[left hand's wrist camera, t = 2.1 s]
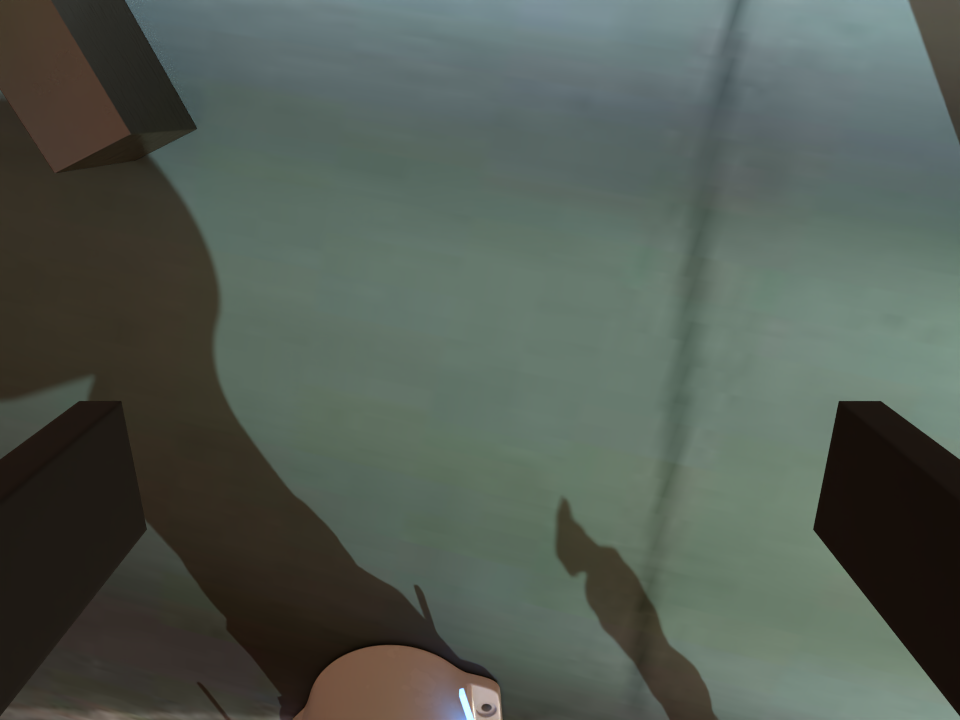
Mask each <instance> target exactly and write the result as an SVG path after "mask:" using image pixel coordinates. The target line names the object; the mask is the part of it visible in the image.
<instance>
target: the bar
mask: <svg viewBox="0 0 960 720" xmlns="http://www.w3.org/2000/svg"><path fill="white" fill-rule="evenodd" d="M0 90H1V91H2V93H3V94H4V96H5V97H6V99H7V100H8V102H9V103H10V105H11V107H12V108H13V110H14V111H15V113H16V114H17V116H18V117H19V119H20V120H21V122H22V124H23V125H24V127H25V128H26V130H27V131H28V133H29V134H30V136H31V137H32V139H33V140H34V142H35V144H36V145H37V147H38V148H39V150H40V151H41V153H42V154H43V156H44V157H45V159H46V161H47V162H48V164H49V165H50V167H51V168H52V170H53V171H54V173H60V172H66V171H72V170H79V169H85V168H91V167H98V166H104V165H111V164H117V163H123V162H130V161H135V160H137V159H139V158H141V157H143V156H145V155H147V154H149V153H151V152H153V151H155V150H157V149H159V148H161V147H163V146H165V145H166V144H168V143H170V142H172V141H174V140H176V139H178V138H180V137H182V136H184V135H186V134H188V133H190V132H192V131H194V130H196V129H197V128H196V126H195V124H194V122H193V121H192V119H191V117H190V115H189V114H188V112H187V110H186V108H185V107H184V105H183V103H182V101H181V99H180V98H179V96H178V94H177V92H176V91H175V89H174V87H173V85H172V84H171V82H170V80H169V78H168V76H167V75H166V73H165V71H164V69H163V68H162V66H161V64H160V62H159V61H158V59H157V57H156V55H155V53H154V52H153V50H152V48H151V46H150V45H149V43H148V41H147V39H146V38H145V36H144V34H143V32H142V30H141V29H140V27H139V25H138V23H137V22H136V20H135V18H134V16H133V15H132V13H131V11H130V9H129V7H128V6H127V4H126V2H125V0H0Z"/></svg>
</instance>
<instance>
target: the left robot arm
mask: <svg viewBox="0 0 960 720" xmlns="http://www.w3.org/2000/svg"><path fill="white" fill-rule="evenodd" d="M146 530H147V528H146V523H145V518H144V513H143V508H142V503H141V498H140V493H139V488H138V483H137V478H136V473H135V468H134V463H133V458H132V453H131V448H130V443H129V438H128V433H127V428H126V423H125V418H124V413H123V408H122V403H121V401H79V402H77V403H76V404H75V405H73V406H72V407H71V408H69V409H68V410H67V411H65V412H64V413H63V414H61V415H60V416H58V417H57V418H56V419H54V420H53V421H52V422H50V423H49V424H48V425H46V426H45V427H44V428H42V429H41V430H40V431H38V432H37V433H35V434H34V435H33V436H31V437H30V438H29V439H27V440H26V441H25V442H23V443H22V444H21V445H19V446H18V447H17V448H15V449H14V450H12V451H11V452H10V453H8V454H7V455H6V456H4V457H3V458H2V459H0V716H1V714H2V713H3V712H4V711H5V709H6V708H7V707H8V705H9V704H10V703H11V702H12V700H13V699H14V698H15V697H16V695H17V694H18V693H19V691H20V690H21V689H22V688H23V686H24V685H25V684H26V683H27V681H28V680H29V679H30V677H31V676H32V675H33V674H34V672H35V671H36V670H37V669H38V667H39V666H40V665H41V663H42V662H43V661H44V660H45V658H46V657H47V656H48V655H49V653H50V652H51V651H52V649H53V648H54V647H55V646H56V644H57V643H58V642H59V641H60V639H61V638H62V637H63V635H64V634H65V633H66V632H67V630H68V629H69V628H70V627H71V625H72V624H73V623H74V621H75V620H76V619H77V618H78V616H79V615H80V614H81V613H82V611H83V610H84V609H85V607H86V606H87V605H88V604H89V602H90V601H91V600H92V599H93V597H94V596H95V595H96V593H97V592H98V591H99V590H100V588H101V587H102V586H103V584H104V583H105V582H106V581H107V579H108V578H109V577H110V576H111V574H112V573H113V572H114V570H115V569H116V568H117V567H118V565H119V564H120V563H121V562H122V560H123V559H124V558H125V556H126V555H127V554H128V553H129V551H130V550H131V549H132V548H133V546H134V545H135V544H136V542H137V541H138V540H139V539H140V537H141V536H142V535H143V534H144V532H145V531H146ZM813 530H814V531H815V532H816V534H817V535H818V536H819V537H820V539H821V540H822V541H823V542H824V544H825V545H826V546H827V548H828V549H829V550H830V551H831V553H832V554H833V555H834V556H835V558H836V559H837V560H838V562H839V563H840V564H841V565H842V567H843V568H844V569H845V570H846V572H847V573H848V574H849V576H850V577H851V578H852V579H853V581H854V582H855V583H856V584H857V586H858V587H859V588H860V590H861V591H862V592H863V593H864V595H865V596H866V597H867V599H868V600H869V601H870V602H871V604H872V605H873V606H874V607H875V609H876V610H877V611H878V613H879V614H880V615H881V616H882V618H883V619H884V620H885V621H886V623H887V624H888V625H889V627H890V628H891V629H892V630H893V632H894V633H895V634H896V635H897V637H898V638H899V639H900V641H901V642H902V643H903V644H904V646H905V647H906V648H907V649H908V651H909V652H910V653H911V655H912V656H913V657H914V658H915V660H916V661H917V662H918V663H919V665H920V666H921V667H922V669H923V670H924V671H925V672H926V674H927V675H928V676H929V677H930V679H931V680H932V681H933V683H934V684H935V685H936V686H937V688H938V689H939V690H940V691H941V693H942V694H943V695H944V697H945V698H946V699H947V700H948V702H949V703H950V704H951V705H952V707H953V708H954V709H955V711H956V712H957V713H958V714H959V716H960V459H958V458H957V457H956V456H954V455H953V454H952V453H950V452H949V451H948V450H946V449H945V448H943V447H942V446H941V445H939V444H938V443H937V442H935V441H934V440H933V439H931V438H930V437H929V436H927V435H926V434H925V433H923V432H922V431H920V430H919V429H918V428H916V427H915V426H914V425H912V424H911V423H910V422H908V421H907V420H906V419H904V418H903V417H902V416H900V415H899V414H897V413H896V412H895V411H893V410H892V409H891V408H889V407H888V406H887V405H885V404H884V403H883V402H881V401H839V403H838V408H837V413H836V418H835V423H834V428H833V433H832V438H831V443H830V448H829V453H828V458H827V463H826V468H825V473H824V478H823V483H822V488H821V493H820V498H819V503H818V508H817V513H816V518H815V523H814V528H813Z"/></svg>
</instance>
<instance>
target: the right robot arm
mask: <svg viewBox="0 0 960 720" xmlns="http://www.w3.org/2000/svg"><path fill="white" fill-rule="evenodd" d="M292 720H503V718H502V706H501V694H500V687H499V685H498V684H497V683H496V682H495V681H493V680H491V679H488V678H485V677H482V676H478V675H474V674H470V673H466V672H464V671H462V670H460V669H458V668H456V667H455V666H453V665H452V664H451V663H449V662H447V661H446V660H444V659H443V658H441V657H439V656H437V655H435V654H432V653H430V652H427V651H424V650H421V649H418V648H413V647H408V646H400V645H379V646H371V647H366V648H362V649H359V650H356V651H353V652H350V653H348V654H346V655H344V656H342V657H340V658H338V659H337V660H335V661H334V662H332V663H331V664H330V665H329V666H327V667H326V668H325V669H324V670H323V671H322V672H321V674H320V675H319V676H318V678H317V679H316V681H315V683H314V685H313V687H312V689H311V692H310V695H309V699H308V702H307V704H306V706H305V708H304V709H303V710H301V711H300V712H299V713H298V714H297V715H296V716H295V717H294V718H293V719H292Z"/></svg>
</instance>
